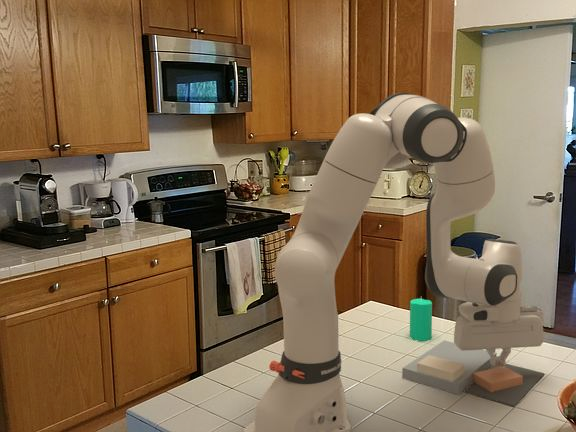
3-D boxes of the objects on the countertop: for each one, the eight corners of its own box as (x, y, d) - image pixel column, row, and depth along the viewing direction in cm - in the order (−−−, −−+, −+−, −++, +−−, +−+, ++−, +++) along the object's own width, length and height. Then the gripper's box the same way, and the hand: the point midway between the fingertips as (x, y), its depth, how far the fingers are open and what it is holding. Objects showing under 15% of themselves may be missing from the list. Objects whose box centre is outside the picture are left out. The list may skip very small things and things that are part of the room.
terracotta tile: (491, 392, 126) (491, 383, 126) (472, 381, 132) (473, 373, 132) (522, 384, 130) (522, 376, 129) (503, 374, 135) (503, 366, 135)
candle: (426, 343, 156) (426, 300, 155) (406, 338, 160) (406, 297, 158) (434, 336, 161) (435, 295, 159) (415, 332, 165) (415, 292, 163)
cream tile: (464, 372, 132) (464, 364, 131) (453, 381, 127) (453, 373, 127) (428, 362, 138) (428, 354, 137) (416, 371, 133) (416, 363, 133)
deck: (458, 394, 126) (458, 384, 126) (402, 377, 135) (402, 367, 135) (496, 362, 143) (496, 353, 142) (444, 349, 152) (444, 340, 151)
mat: (514, 407, 120) (514, 405, 120) (464, 392, 127) (464, 390, 127) (544, 374, 135) (544, 373, 135) (498, 363, 142) (498, 361, 142)
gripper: (536, 301, 135) (533, 357, 137) (452, 305, 133) (450, 361, 135) (550, 310, 129) (547, 368, 131) (462, 314, 127) (460, 373, 129)
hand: (497, 365), depth 133 cm, fingers closed
